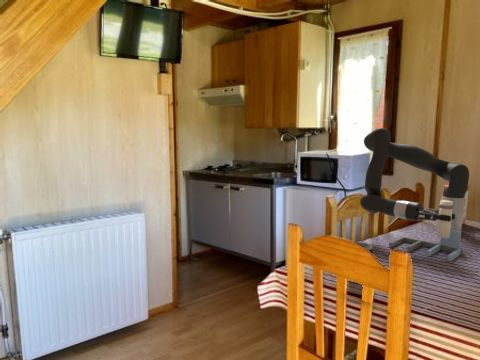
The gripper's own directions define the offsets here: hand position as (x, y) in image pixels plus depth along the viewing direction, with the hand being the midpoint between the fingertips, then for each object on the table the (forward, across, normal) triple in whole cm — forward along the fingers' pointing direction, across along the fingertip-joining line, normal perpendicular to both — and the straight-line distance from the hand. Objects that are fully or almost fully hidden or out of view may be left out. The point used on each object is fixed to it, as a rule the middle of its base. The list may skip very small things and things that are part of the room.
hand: (452, 217), depth 149 cm
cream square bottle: (-3, 0, +8) cm, 8 cm away
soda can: (-13, -46, +16) cm, 51 cm away
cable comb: (-10, +3, +16) cm, 19 cm away
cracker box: (-17, +58, +16) cm, 62 cm away
